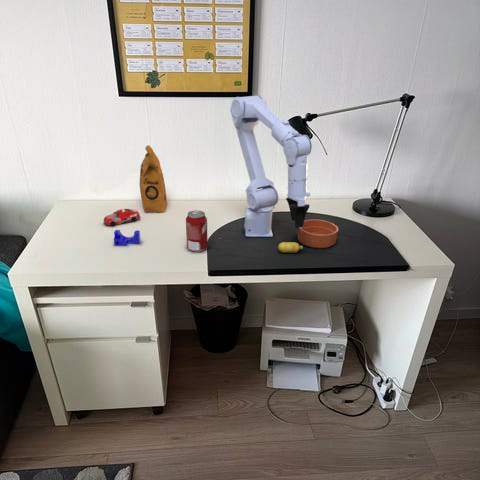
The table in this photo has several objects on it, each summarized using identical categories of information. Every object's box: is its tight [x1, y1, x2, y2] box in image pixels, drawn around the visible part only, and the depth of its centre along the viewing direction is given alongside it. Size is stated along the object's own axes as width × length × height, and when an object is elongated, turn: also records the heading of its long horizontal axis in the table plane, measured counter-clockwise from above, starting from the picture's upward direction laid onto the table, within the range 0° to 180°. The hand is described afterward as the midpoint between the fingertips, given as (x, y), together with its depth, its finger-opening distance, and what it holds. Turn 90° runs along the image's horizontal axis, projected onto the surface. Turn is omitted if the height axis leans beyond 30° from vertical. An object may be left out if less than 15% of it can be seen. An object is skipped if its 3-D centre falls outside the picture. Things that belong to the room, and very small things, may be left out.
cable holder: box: [113, 229, 142, 247], centre depth 144 cm, size 8×4×4 cm, turn 90°
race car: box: [103, 208, 141, 227], centre depth 158 cm, size 13×5×4 cm, turn 123°
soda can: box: [185, 210, 208, 253], centre depth 140 cm, size 7×7×12 cm
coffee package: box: [139, 144, 168, 213], centre depth 165 cm, size 10×12×22 cm
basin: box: [296, 218, 339, 249], centre depth 150 cm, size 13×13×5 cm
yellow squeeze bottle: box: [277, 241, 304, 254], centre depth 143 cm, size 8×3×3 cm, turn 93°
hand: (297, 223), depth 138 cm, fingers open, 7 cm apart
